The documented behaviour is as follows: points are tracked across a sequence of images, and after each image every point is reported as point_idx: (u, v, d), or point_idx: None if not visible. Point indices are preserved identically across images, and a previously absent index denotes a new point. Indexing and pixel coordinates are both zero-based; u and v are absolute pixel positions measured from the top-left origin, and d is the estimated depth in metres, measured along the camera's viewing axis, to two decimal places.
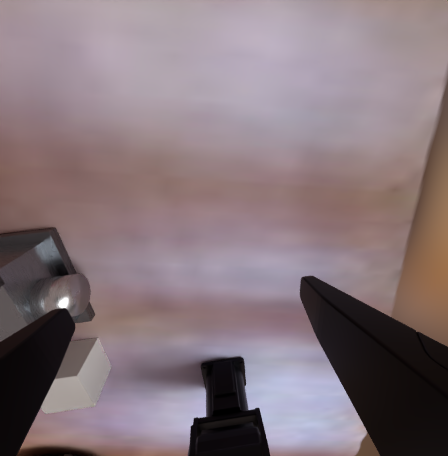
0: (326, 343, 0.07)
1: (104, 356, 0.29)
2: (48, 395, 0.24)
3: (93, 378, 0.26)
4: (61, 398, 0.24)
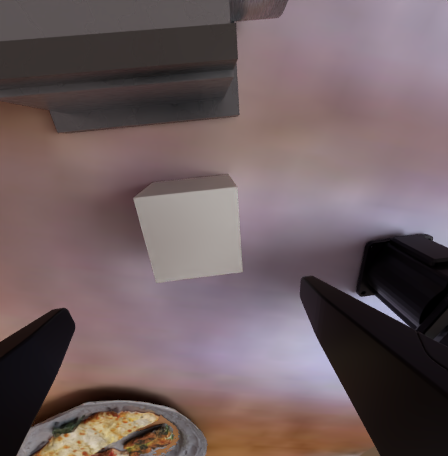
0: (326, 343, 0.07)
1: None
2: (172, 235, 0.13)
3: None
4: (193, 246, 0.13)
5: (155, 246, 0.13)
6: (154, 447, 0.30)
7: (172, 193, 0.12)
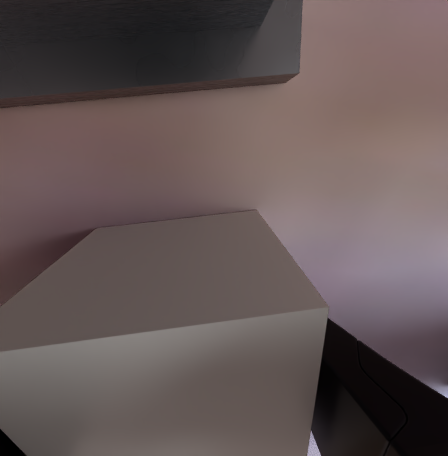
0: None
1: None
2: (110, 434, 0.04)
3: None
4: (175, 446, 0.05)
5: None
6: None
7: (92, 332, 0.03)
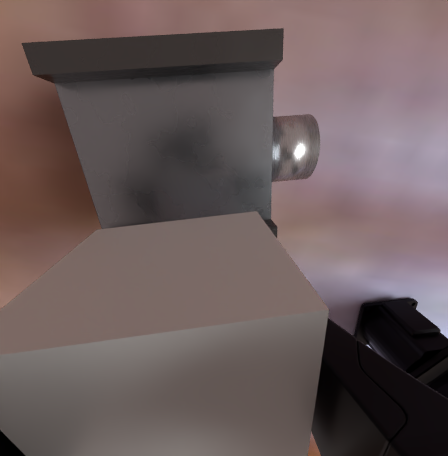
0: None
1: None
2: (111, 436, 0.04)
3: None
4: (176, 448, 0.05)
5: None
6: None
7: (92, 335, 0.03)
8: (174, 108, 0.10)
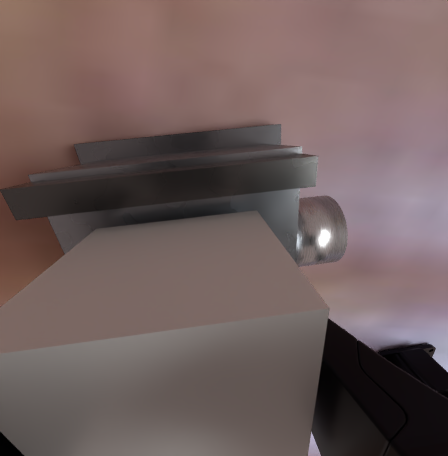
0: None
1: None
2: (110, 436, 0.04)
3: None
4: (175, 447, 0.05)
5: None
6: None
7: (91, 334, 0.03)
8: None
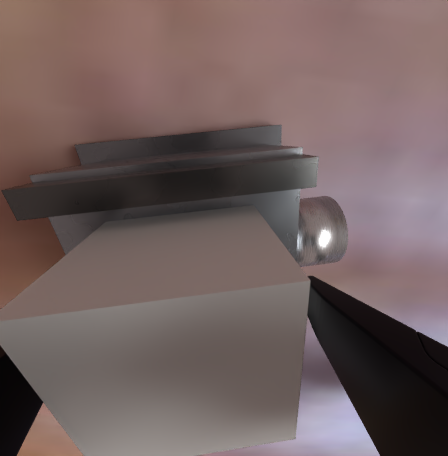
0: (326, 343, 0.07)
1: None
2: (125, 395, 0.05)
3: None
4: (180, 408, 0.05)
5: (81, 416, 0.05)
6: None
7: (113, 301, 0.04)
8: None
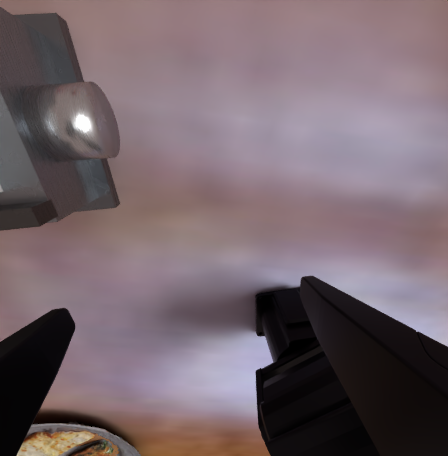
0: (326, 343, 0.07)
1: None
2: None
3: None
4: None
5: None
6: None
7: None
8: None
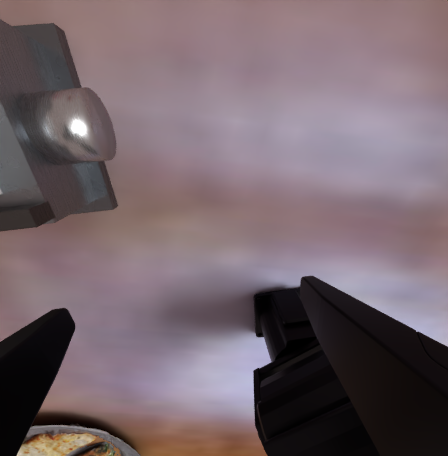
0: (326, 343, 0.07)
1: None
2: None
3: None
4: None
5: None
6: None
7: None
8: None
